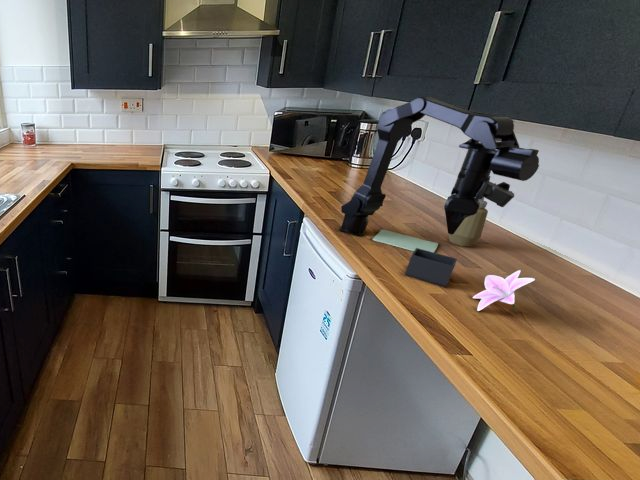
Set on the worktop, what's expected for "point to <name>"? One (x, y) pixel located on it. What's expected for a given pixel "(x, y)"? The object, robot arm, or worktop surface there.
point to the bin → (430, 267)
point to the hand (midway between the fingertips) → (452, 229)
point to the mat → (404, 241)
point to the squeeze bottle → (470, 227)
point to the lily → (501, 289)
